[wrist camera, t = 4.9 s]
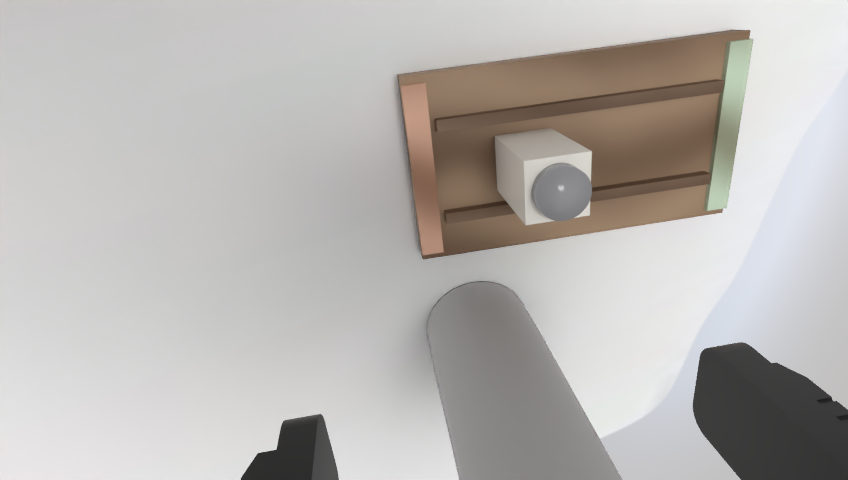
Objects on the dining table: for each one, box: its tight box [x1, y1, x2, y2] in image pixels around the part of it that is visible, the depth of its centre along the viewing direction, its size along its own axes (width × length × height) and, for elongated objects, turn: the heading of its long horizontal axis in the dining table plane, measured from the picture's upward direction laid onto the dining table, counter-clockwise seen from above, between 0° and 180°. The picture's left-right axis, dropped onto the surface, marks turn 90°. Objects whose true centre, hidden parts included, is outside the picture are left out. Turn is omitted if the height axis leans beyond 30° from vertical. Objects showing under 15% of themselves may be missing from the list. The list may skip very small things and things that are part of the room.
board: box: [398, 30, 753, 259], centre depth 27 cm, size 10×18×2 cm, turn 96°
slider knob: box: [495, 128, 592, 225], centre depth 23 cm, size 3×3×6 cm
